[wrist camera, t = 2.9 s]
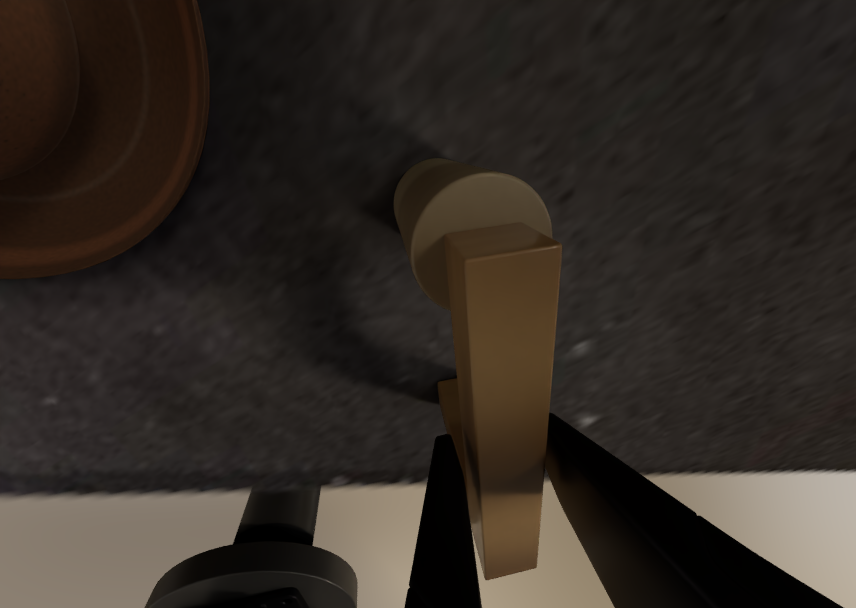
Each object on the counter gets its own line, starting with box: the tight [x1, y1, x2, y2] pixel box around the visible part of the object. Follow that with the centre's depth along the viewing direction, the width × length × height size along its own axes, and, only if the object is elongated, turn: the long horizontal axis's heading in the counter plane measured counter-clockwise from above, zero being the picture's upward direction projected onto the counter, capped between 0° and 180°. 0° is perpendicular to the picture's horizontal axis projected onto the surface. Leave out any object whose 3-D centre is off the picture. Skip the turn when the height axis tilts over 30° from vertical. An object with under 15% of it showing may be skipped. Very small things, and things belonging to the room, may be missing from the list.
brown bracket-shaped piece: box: [394, 158, 562, 580], centre depth 10 cm, size 11×3×7 cm, turn 6°
